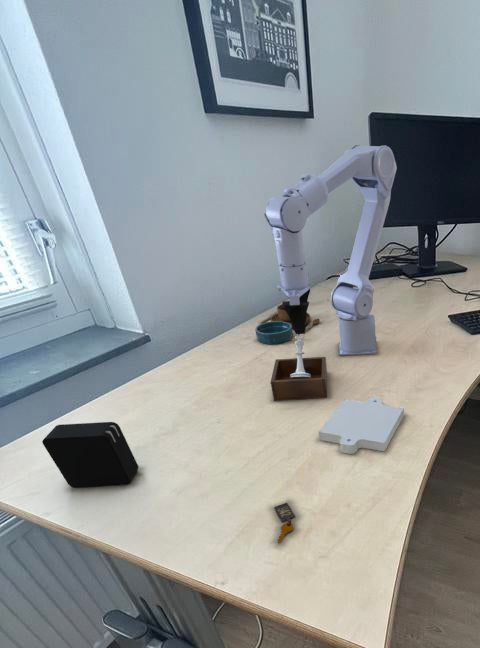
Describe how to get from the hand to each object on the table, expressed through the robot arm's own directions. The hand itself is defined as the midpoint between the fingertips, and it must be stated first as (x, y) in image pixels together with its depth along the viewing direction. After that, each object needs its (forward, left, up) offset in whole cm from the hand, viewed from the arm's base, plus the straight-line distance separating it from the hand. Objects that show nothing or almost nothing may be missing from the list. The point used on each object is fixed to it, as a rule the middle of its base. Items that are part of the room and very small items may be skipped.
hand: (301, 327), depth 100 cm
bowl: (+10, -22, -10) cm, 26 cm away
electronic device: (+33, +39, -11) cm, 52 cm away
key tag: (+2, +53, -10) cm, 55 cm away
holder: (+1, +9, -10) cm, 14 cm away
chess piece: (+1, +9, -9) cm, 12 cm away
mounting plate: (-12, +28, -11) cm, 33 cm away
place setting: (+4, -37, -11) cm, 39 cm away
